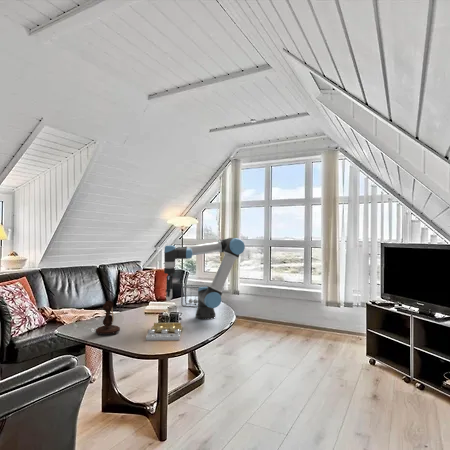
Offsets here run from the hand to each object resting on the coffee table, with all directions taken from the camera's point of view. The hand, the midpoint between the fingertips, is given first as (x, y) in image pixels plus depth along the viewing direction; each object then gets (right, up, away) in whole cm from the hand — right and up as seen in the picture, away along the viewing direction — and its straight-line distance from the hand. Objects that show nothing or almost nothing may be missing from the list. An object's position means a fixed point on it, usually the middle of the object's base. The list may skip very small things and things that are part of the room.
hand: (169, 299), depth 246 cm
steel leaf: (+1, -17, -29) cm, 34 cm away
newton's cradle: (+17, -19, +61) cm, 66 cm away
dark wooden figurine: (-36, -17, -20) cm, 45 cm away
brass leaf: (0, -17, -15) cm, 23 cm away
